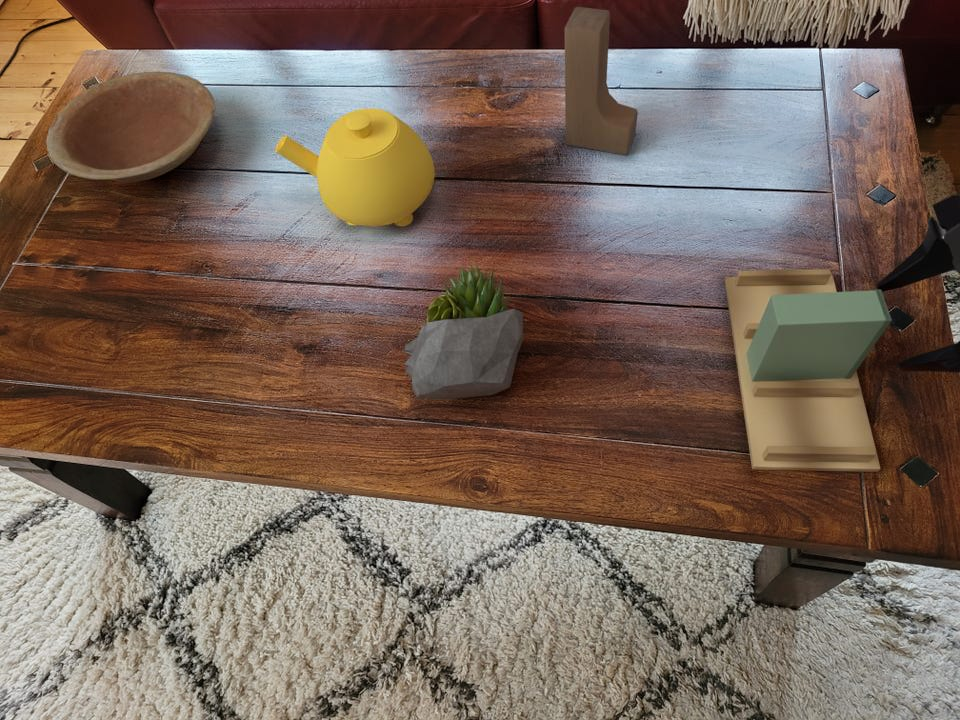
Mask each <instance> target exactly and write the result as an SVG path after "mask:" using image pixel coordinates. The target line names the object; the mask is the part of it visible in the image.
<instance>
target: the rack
mask: <svg viewBox="0 0 960 720" xmlns="http://www.w3.org/2000/svg"><path fill="white" fill-rule="evenodd" d="M724 286H725V294H726V300H727V307H728V314H729V315H728V316H729V321H730V327H731V328H730V329H731V335H732V339H733V340H732V341H733V348H734V355H735V362H736V368H737V375H738V383H739V388H740V389H739V390H740V395H741V396H740V397H741V402H742V411H743V415H744V423H745V429H746V430H745V431H746V436H747V444H748V450H749V457H750V465H751V469H752V470H753V471H755V470H756V471H757V470H759V471H766V470H768V471H808V472H810V471H812V472H813V471H814V472H815V471H816V472H817V471H818V472H821V471H822V472H862V473H863V472H864V473H865V472H867V473H869V472H872V473H878V472H880V470H881V464H880V460H879V456H878V452H877V448H876V444H875V440H874V437H873V436H874V435H873V432H872V428H871V424H870V420H869V416H868V413H867V407H866V404H865V400H864V396H863V391H862V388H861V384H860V379H859V376H858V372H857V370H856V371H855V373H854V374H853V376H852V377H851V378H850V379H845V378H838V379H809V380H780V381H752V379H751V374H750V370H749V365H748V360H747V355H746V354H747V351H748V349H749V347H750V344H751V342H752V340H753V337H754V335H755V333H756V330H757V328H758V326H759V323H760V321H761V318H762V316H763V314H764V311H765V309H766V307H767V304H768V302H769V300H770V297H771V295H786V294H808V293H829V292H838V291H837V286H836V283H835V280H834V275H832V270H831V269H830V268H819V269H818V268H815V269H813V268H811V269H809V268H808V269H761V270H760V269H757V270H756V269H755V270H754V269H753V270H748V269H747V270H738V272H737V275H736V276H726V277H725V278H724Z"/></svg>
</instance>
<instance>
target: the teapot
mask: <svg viewBox="0 0 960 720" xmlns="http://www.w3.org/2000/svg"><path fill="white" fill-rule="evenodd" d="M274 151H275V153H277V154H279V155H280V156H281V157H283V158H284V159H286V160H288V161H289V162H291V163H292V164H294V165H295V166H297V167H298V168H300V169H302V170H304V171H305V172H307V173H308V174H310V175H311V176H313V177H314V178H316V181H317V188H318V192H319V195H320V198H321V200H322V202H323V204H324V206H325V207H326V209H327V210H328V211H329V212H330V214H332V215H334V217H336V218H338V219H340V220H342V221H344V222H345V223H346V224H347V225H349V226H352V227H353V226H361V227H362V226H363V227H381V226H387V225H392V224H394V225H395V226H397V227H406V226H408V225H410V224H411V223H412V222H413V220H414V215H413V213H415V211H416V210H418V208H419V207H421V205H422V204H423V203H424V202H425V201H426V199H427V198H428V196H429V195H430V193H431V192H432V191H431V190H432V188H433V185H434V182H435V177H436V176H435V175H436V172H435V171H436V169H435V164H434V161H433V157H432V155H431V152H430V151H429V149H428V147H427V145H426V143H425V142H424V141H423V139H422V138H421V136H420V135H419V134H418V133H417V132H416V131H415V130H414V129H413V128H412V127H411V126H409V125H408V124H407V123H405V122H404V121H403V120H402V119H400V118H399V117H397V116H396V115H394V114H392V113H391V112H388V111H386V110H384V109H380V108H370V107H368V108H359V109H356V110H352V111H350V112H347V113H346V114H343V115H342V116H340V117H338V119H336V120H335V121H334V122H333V123H332V124H331V125H330V127H329V128H328V130H327V132H326V134H325V136H324V138H323V140H322V144H321V147H320V151H319V154H316V153H314V152H313V151H311V150H310V149H308V148H307V147H305V146H304V145H303V144H301V143H299V142H298V141H296V140H294V139H293V138H291V137H289V136H288V135H287V134H285V135H283V136H282V137H281V138H280V139H279V141H278V143H277V144H276V147H275V150H274Z"/></svg>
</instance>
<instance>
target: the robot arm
mask: <svg viewBox="0 0 960 720" xmlns="http://www.w3.org/2000/svg"><path fill="white" fill-rule="evenodd" d="M932 208H933V210H934V214H935V216H936V218H935V217H934V216H930V217H929V218H928V220H927V225H928V228H927V231H926V233H925V236H924V239H923V240H922V242H921V243H920V244H919V245H918V246H917V248H915V250H914V251H913V252H912V253H910V254H909V255H908V256H907V257H906V258H905V259H904V260H903V261H902V262H900V263H899V264H898V265H897V266H896V267H895V268H894V269H892V270H891V271H890V272H889V273H888V274H887V275H885V277H883V278H882V279H881V280H880V281H879V282H878V283H876V290H880V289H881V290H882V293H883V292H888V291H892V290H896V289H897V290H898V289H900V288H903V287H906V286H909V285H912V284H916V283H919V282H921V281H922V282H923V281H925V280H928V279H931V278H933V277H936V276H940V275H943V274H946V273H949V272H953V271H956V272H957V273H958V274H959V275H960V194H951V195H949V196H946V197H945V198H942V199H941V200H939V201H936V202H935V203H933V204H932ZM897 366H898V368H899V370H901V371H903V372H927V373H929V372H931V373H957V374H959V373H960V340H959V341H957V342H955V343H953V344H949V345H946V346H943V347H939V348H936V349H933V350H930V351H927V352H924V353H921V354H917V355H914V356H912V357H909V358H907V359H904V360H902V361H900V362H898V364H897Z"/></svg>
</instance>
